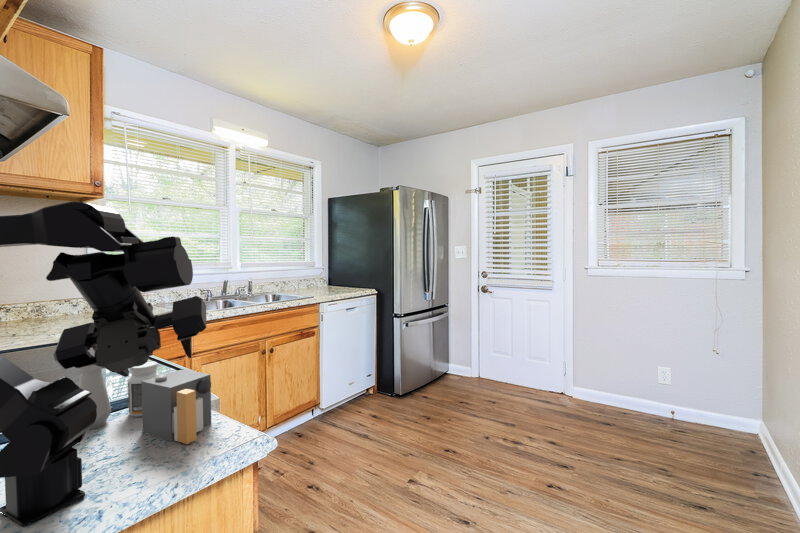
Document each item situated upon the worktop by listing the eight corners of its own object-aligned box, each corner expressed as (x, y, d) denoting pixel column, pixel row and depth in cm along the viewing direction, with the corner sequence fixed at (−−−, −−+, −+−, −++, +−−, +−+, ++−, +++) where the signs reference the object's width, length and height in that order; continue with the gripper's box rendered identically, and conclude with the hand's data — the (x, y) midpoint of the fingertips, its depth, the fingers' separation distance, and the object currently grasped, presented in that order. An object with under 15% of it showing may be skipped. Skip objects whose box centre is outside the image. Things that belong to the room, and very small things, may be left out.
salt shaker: (77, 434, 69) (75, 363, 69) (68, 426, 73) (66, 358, 72) (116, 423, 74) (114, 356, 73) (106, 415, 77) (104, 352, 77)
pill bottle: (168, 408, 81) (167, 361, 81) (143, 419, 76) (142, 369, 75) (147, 405, 83) (146, 359, 82) (121, 416, 77) (120, 367, 77)
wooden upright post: (186, 444, 65) (185, 394, 65) (174, 440, 66) (173, 391, 66) (212, 431, 69) (211, 384, 69) (200, 428, 71) (199, 382, 71)
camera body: (174, 442, 66) (172, 384, 66) (142, 432, 70) (141, 378, 70) (213, 423, 74) (212, 371, 73) (183, 415, 77) (182, 366, 77)
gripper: (6, 359, 44) (80, 430, 53) (185, 313, 49) (222, 385, 59) (37, 298, 52) (97, 369, 61) (187, 263, 57) (220, 334, 67)
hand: (159, 365), depth 62 cm, fingers open, 9 cm apart
